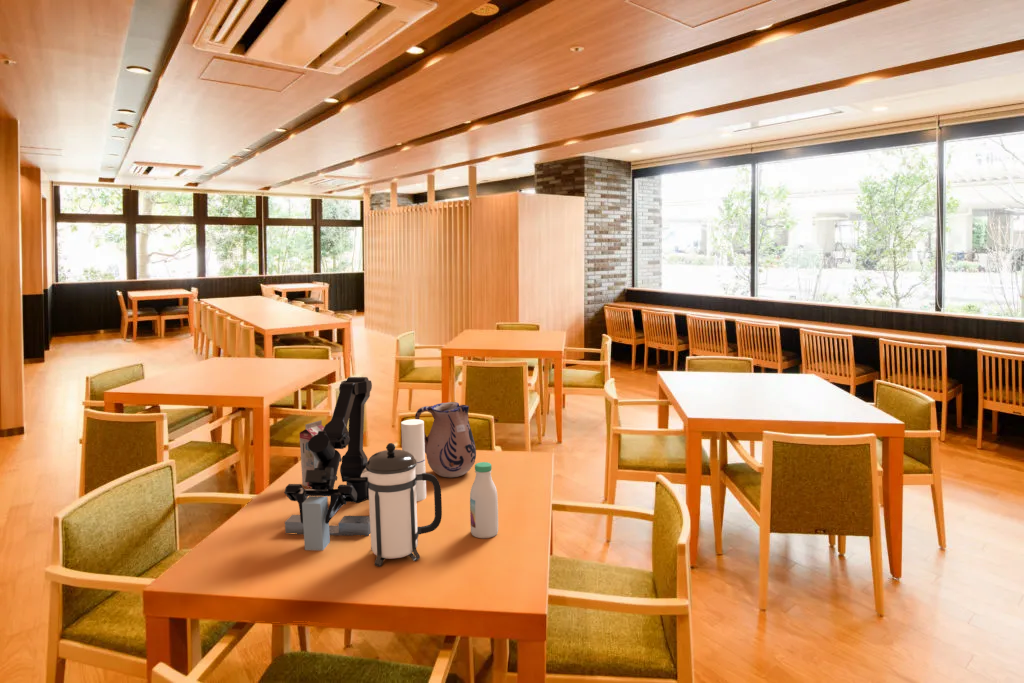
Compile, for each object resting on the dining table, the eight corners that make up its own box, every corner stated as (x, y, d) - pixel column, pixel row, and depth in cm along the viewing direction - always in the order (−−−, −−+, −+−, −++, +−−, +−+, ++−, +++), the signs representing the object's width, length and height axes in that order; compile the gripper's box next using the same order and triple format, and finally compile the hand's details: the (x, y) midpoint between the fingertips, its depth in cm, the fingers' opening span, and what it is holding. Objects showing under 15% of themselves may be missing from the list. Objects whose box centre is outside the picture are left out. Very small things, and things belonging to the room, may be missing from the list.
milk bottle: (502, 529, 181) (501, 461, 178) (492, 540, 173) (491, 469, 171) (477, 525, 183) (475, 458, 180) (466, 537, 176) (464, 467, 173)
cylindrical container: (399, 499, 204) (396, 423, 201) (411, 492, 210) (408, 418, 207) (419, 502, 201) (416, 425, 198) (430, 494, 208) (427, 420, 205)
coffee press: (400, 575, 155) (395, 456, 151) (353, 559, 163) (347, 446, 160) (444, 547, 170) (441, 438, 166) (399, 534, 178) (395, 430, 174)
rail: (293, 526, 184) (292, 514, 184) (373, 528, 182) (373, 516, 182) (285, 534, 179) (284, 521, 179) (368, 535, 178) (368, 523, 177)
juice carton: (331, 483, 220) (327, 421, 217) (315, 489, 214) (312, 425, 212) (318, 480, 224) (314, 418, 221) (302, 485, 218) (298, 423, 215)
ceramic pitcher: (479, 480, 221) (477, 410, 217) (417, 484, 217) (415, 413, 214) (473, 464, 238) (472, 399, 235) (416, 468, 234) (414, 401, 231)
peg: (312, 541, 174) (309, 496, 173) (329, 542, 174) (327, 496, 172) (304, 550, 169) (302, 503, 168) (323, 550, 169) (320, 503, 167)
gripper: (285, 455, 173) (269, 510, 164) (351, 456, 172) (339, 511, 162) (298, 473, 182) (284, 526, 173) (362, 474, 181) (351, 528, 171)
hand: (314, 523), depth 169 cm, fingers open, 6 cm apart
